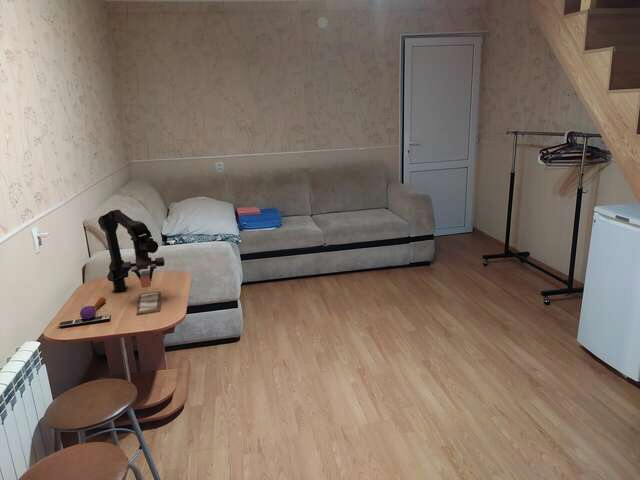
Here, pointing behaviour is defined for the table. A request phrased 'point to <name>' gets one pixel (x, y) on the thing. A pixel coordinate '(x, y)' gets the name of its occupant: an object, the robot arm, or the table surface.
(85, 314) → the purple maraca
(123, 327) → the table surface
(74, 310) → the table surface
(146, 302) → the board
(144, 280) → the red and gray block
